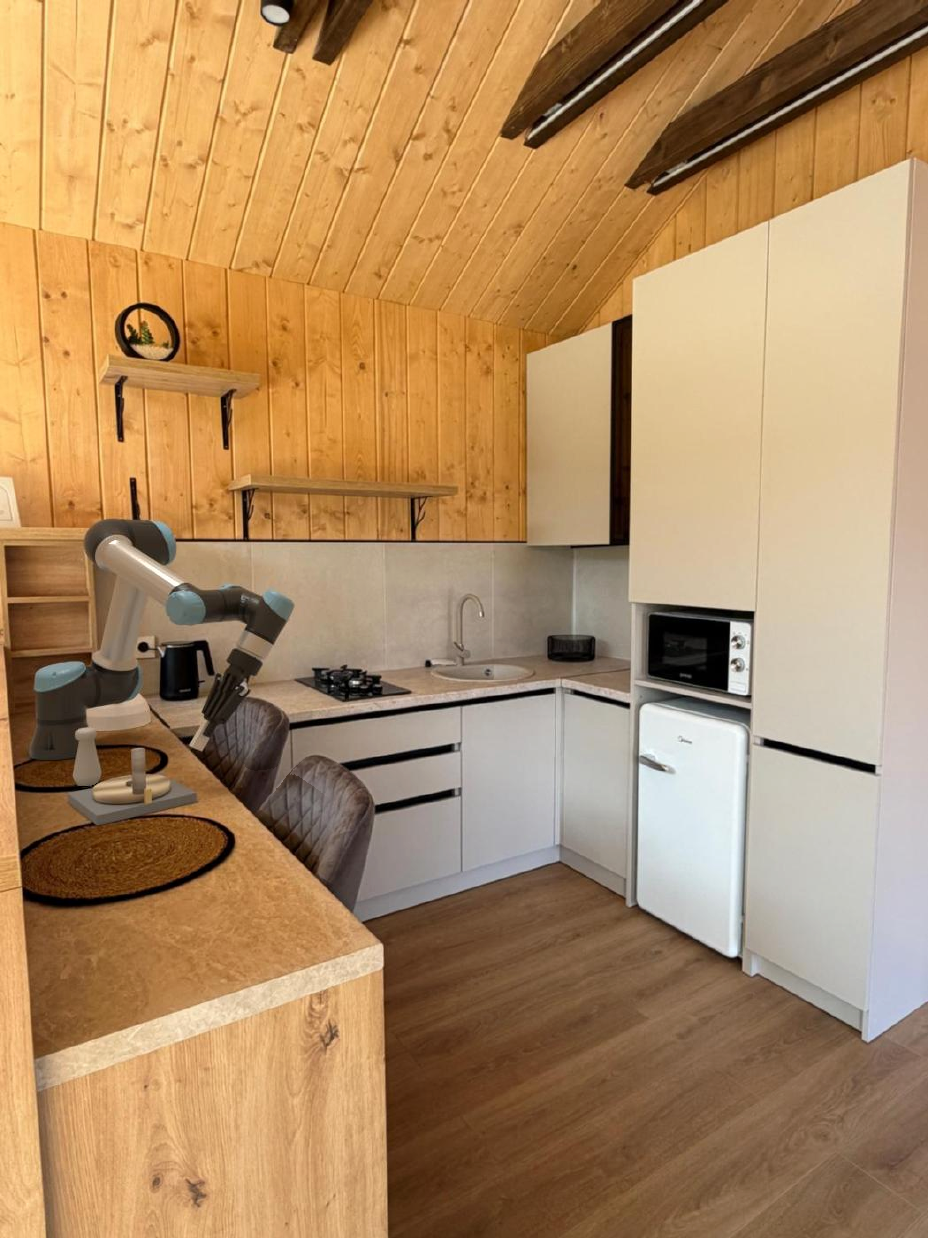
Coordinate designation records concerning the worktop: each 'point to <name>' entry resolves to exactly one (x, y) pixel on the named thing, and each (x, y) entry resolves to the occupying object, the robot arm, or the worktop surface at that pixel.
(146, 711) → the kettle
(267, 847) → the worktop surface
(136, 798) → the dial
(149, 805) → the stand base
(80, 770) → the salt shaker
